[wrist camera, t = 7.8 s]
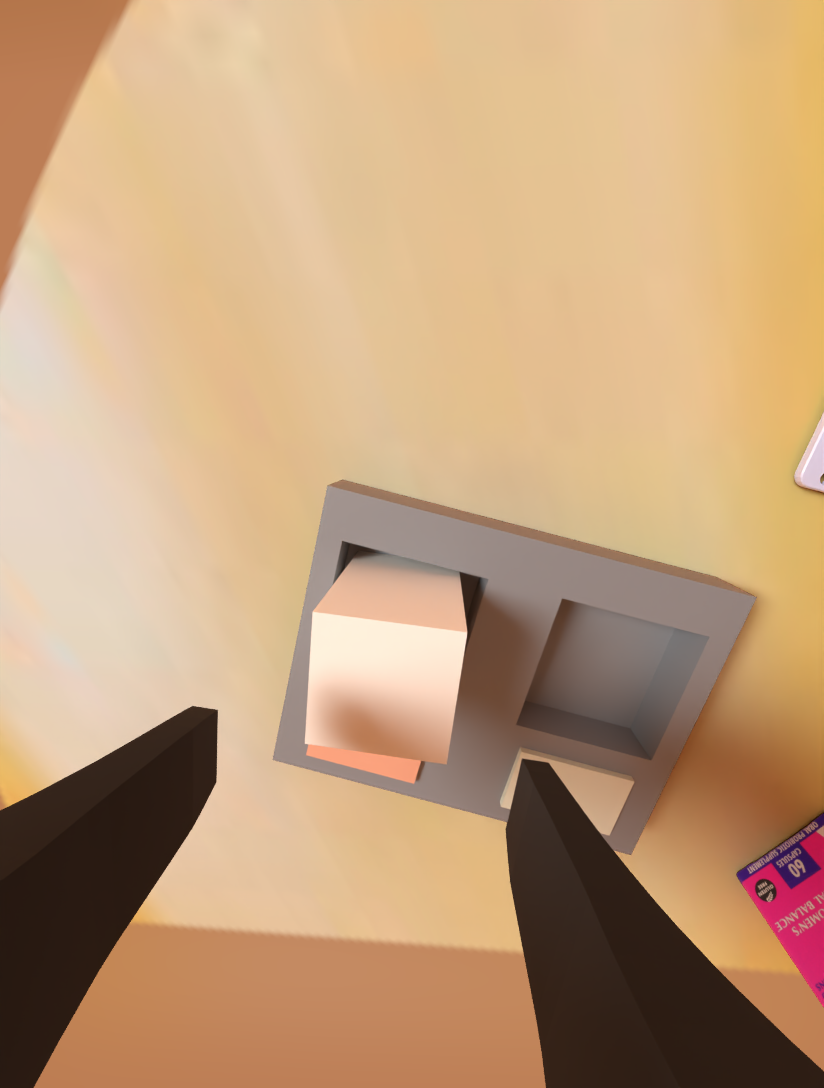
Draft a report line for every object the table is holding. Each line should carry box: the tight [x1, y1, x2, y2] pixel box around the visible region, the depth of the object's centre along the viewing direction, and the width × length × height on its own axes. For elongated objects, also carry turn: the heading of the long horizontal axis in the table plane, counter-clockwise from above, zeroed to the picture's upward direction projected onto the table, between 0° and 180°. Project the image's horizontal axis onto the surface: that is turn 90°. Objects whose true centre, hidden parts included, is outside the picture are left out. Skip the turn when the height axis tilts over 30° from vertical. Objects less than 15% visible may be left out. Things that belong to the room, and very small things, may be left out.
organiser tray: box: [273, 480, 757, 855], centre depth 19 cm, size 17×13×3 cm
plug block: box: [305, 551, 467, 764], centre depth 16 cm, size 4×4×7 cm
